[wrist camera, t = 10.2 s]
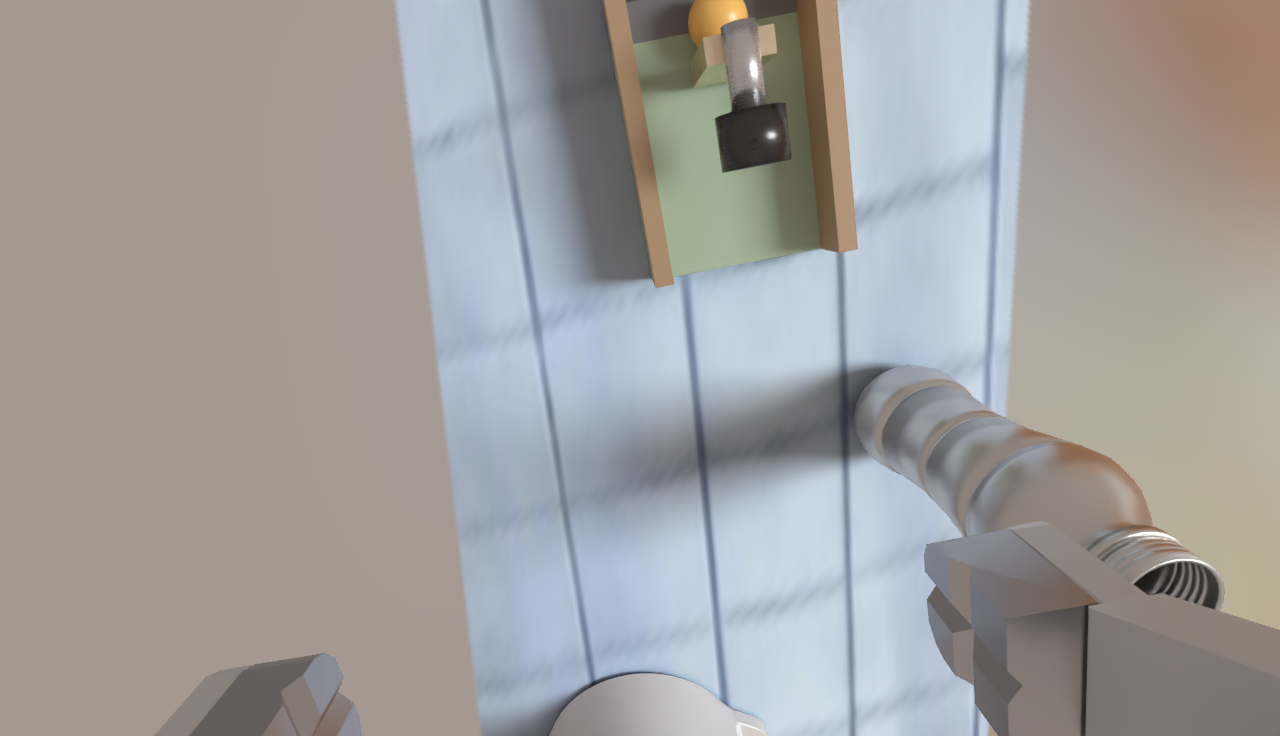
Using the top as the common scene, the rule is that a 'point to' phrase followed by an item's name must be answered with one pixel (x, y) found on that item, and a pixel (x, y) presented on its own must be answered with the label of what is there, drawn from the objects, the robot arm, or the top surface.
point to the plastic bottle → (1021, 480)
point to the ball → (713, 17)
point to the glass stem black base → (743, 94)
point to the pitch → (688, 147)
